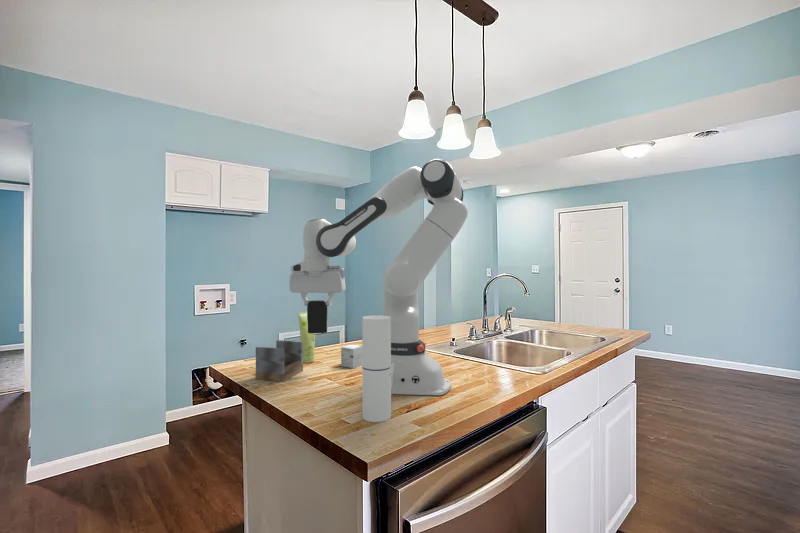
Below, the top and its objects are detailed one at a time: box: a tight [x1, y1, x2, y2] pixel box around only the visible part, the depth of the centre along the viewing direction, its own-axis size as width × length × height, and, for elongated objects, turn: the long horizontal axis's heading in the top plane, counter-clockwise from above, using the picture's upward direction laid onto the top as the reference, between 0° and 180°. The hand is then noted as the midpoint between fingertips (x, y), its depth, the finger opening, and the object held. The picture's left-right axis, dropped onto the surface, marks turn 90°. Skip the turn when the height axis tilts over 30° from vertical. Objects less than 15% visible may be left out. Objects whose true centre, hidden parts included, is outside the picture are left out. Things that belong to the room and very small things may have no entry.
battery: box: [306, 299, 329, 334], centre depth 139 cm, size 7×4×11 cm, turn 96°
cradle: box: [255, 339, 304, 383], centre depth 136 cm, size 10×13×10 cm
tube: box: [297, 311, 316, 364], centre depth 154 cm, size 6×5×20 cm
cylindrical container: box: [361, 314, 392, 423], centre depth 100 cm, size 7×7×25 cm
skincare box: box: [340, 344, 362, 369], centre depth 148 cm, size 6×6×7 cm
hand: (317, 305), depth 139 cm, fingers closed on battery, 7 cm apart
